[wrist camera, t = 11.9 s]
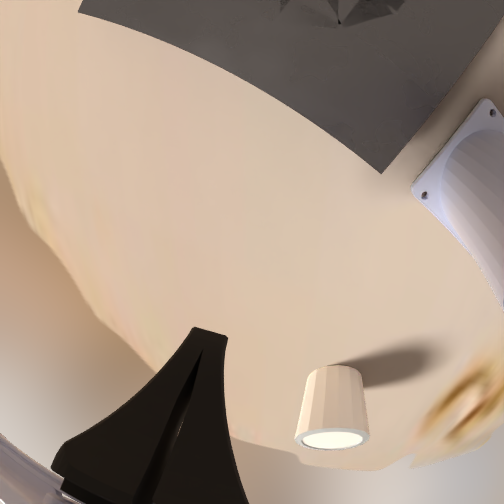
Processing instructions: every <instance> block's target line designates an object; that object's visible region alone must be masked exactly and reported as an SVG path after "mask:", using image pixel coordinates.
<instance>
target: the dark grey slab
mask: <svg viewBox="0 0 504 504" xmlns="http://www.w3.org/2000/svg"><path fill="white" fill-rule="evenodd" d="M78 13H82V14H86V15H90V16H93V17H97V18H100V19H103V20H107V21H110V22H113V23H116V24H119V25H122V26H125V27H128V28H131V29H134V30H136V31H139V32H142V33H144V34H147V35H150V36H152V37H155V38H157V39H160V40H162V41H165V42H167V43H169V44H172V45H174V46H176V47H179V48H181V49H183V50H185V51H188V52H190V53H192V54H194V55H196V56H198V57H200V58H203V59H205V60H207V61H209V62H211V63H213V64H215V65H217V66H219V67H221V68H223V69H225V70H226V71H228V72H230V73H232V74H234V75H236V76H238V77H240V78H241V79H243V80H245V81H247V82H249V83H250V84H252V85H254V86H256V87H257V88H259V89H261V90H262V91H264V92H266V93H268V94H269V95H271V96H273V97H274V98H276V99H277V100H279V101H281V102H282V103H284V104H285V105H287V106H289V107H290V108H292V109H293V110H295V111H296V112H298V113H299V114H301V115H302V116H304V117H305V118H307V119H308V120H310V121H311V122H313V123H314V124H316V125H317V126H319V127H320V128H322V129H323V130H324V131H326V132H327V133H329V134H330V135H331V136H333V137H334V138H336V139H337V140H338V141H340V142H341V143H342V144H344V145H345V146H346V147H348V148H349V149H350V150H352V151H353V152H354V153H355V154H357V155H358V156H359V157H361V158H362V159H363V160H364V161H366V162H367V163H368V164H369V165H371V166H372V167H373V168H374V169H375V170H377V171H378V172H379V173H380V174H382V173H383V172H384V170H385V169H386V168H387V167H388V166H389V165H390V163H391V162H392V161H393V160H394V159H395V157H396V156H397V155H398V154H399V153H400V151H401V150H402V149H403V148H404V147H405V145H406V144H407V143H408V142H409V141H410V139H411V138H412V137H413V136H414V134H415V133H416V132H417V131H418V130H419V128H420V127H421V126H422V125H423V123H424V122H425V121H426V120H427V118H428V117H429V116H430V115H431V113H432V112H433V111H434V110H435V108H436V107H437V106H438V104H439V103H440V102H441V101H442V99H443V98H444V97H445V95H446V94H447V93H448V92H449V90H450V89H451V88H452V86H453V85H454V84H455V82H456V81H457V80H458V78H459V77H460V76H461V74H462V73H463V72H464V70H465V69H466V68H467V66H468V65H469V64H470V62H471V61H472V60H473V58H474V57H475V55H476V54H477V53H478V51H479V50H480V49H481V47H482V46H483V44H484V43H485V41H486V40H487V39H488V37H489V36H490V34H491V33H492V31H493V30H494V29H495V27H496V26H497V24H498V23H499V21H500V20H501V18H502V17H503V15H504V0H83V1H82V3H81V5H80V8H79V10H78Z"/></svg>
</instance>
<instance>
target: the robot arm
mask: <svg viewBox="0 0 504 504" xmlns="http://www.w3.org/2000/svg"><path fill="white" fill-rule="evenodd" d="M491 109H492V111H493V114H492V116H490V110H491ZM411 192H412V194H413V195H414V196H415V197H416V198H417V199H418V200H419V201H420V202H421V203H422V204H423V205H424V206H425V207H426V208H427V209H428V210H429V211H430V212H431V213H432V214H433V215H434V216H435V217H436V218H437V219H438V220H439V221H440V222H441V223H442V224H443V225H444V226H445V227H446V228H447V229H448V230H449V231H450V232H451V233H452V234H453V235H454V237H455V238H456V239H457V240H458V241H459V242H460V243H461V244H462V245H463V246H464V248H465V249H466V250H467V251H468V252H469V253H470V254H471V256H472V257H473V258H474V260H475V261H476V263H477V265H478V266H479V268H480V270H481V271H482V273H483V275H484V277H485V278H486V280H487V282H488V284H489V285H490V287H491V289H492V291H493V293H494V295H495V296H496V298H497V300H498V302H499V304H500V306H501V308H502V310H503V312H504V117H503V116H502V114H501V113H500V112H499V110H498V109H497V108H496V106H495V105H494V104H493V102H492V101H491V100H490V99H487V98H482V99H481V100H480V101H479V102H478V104H477V105H476V106H475V108H474V109H473V110H472V112H471V113H470V114H469V116H468V117H467V118H466V119H465V121H464V122H463V123H462V125H461V126H460V127H459V128H458V130H457V131H456V132H455V133H454V135H453V136H452V137H451V138H450V140H449V141H448V142H447V143H446V145H445V146H444V147H443V148H442V149H441V151H440V152H439V153H438V154H437V155H436V157H435V158H434V159H433V160H432V161H431V162H430V164H429V165H428V166H427V167H426V168H425V170H424V171H423V172H422V173H421V174H420V175H419V176H418V178H417V179H416V180H415V181H414V182H413V183H412V185H411ZM423 192H427V194H426V196H425V197H421V195H422V193H423ZM227 341H228V338H227V336H225V335H222V334H218V333H215V332H211V331H207V330H204V329H201V328H197V327H194V328H192V329H191V331H190V333H189V334H188V336H187V337H186V339H185V340H184V342H183V343H182V344H181V346H180V347H179V348H178V350H177V351H176V352H175V353H174V355H173V356H172V357H171V358H170V359H169V360H168V362H167V363H166V364H165V365H164V366H163V367H162V369H161V370H160V371H159V372H158V373H157V374H156V375H155V376H154V377H153V378H152V379H151V380H150V381H149V382H148V383H147V384H146V385H145V386H144V387H143V388H142V389H141V390H140V391H139V392H138V393H137V394H135V396H133V397H132V398H131V399H130V400H128V401H127V402H126V403H125V404H124V405H122V406H121V407H120V408H119V409H117V410H116V411H115V412H113V413H112V414H111V415H109V416H108V417H106V418H105V419H103V420H102V421H100V422H99V423H97V424H96V425H94V426H93V427H91V428H90V429H88V430H86V431H84V432H83V433H81V434H79V435H77V436H75V437H74V438H71V439H70V440H68V441H66V442H65V443H64V444H63V445H62V446H61V448H60V449H59V451H58V452H57V454H56V456H55V458H54V460H53V463H52V465H51V469H52V470H53V471H54V472H56V473H57V474H59V475H60V476H62V477H64V479H63V478H61V477H60V476H58V475H56V474H55V473H53V472H51V471H50V470H48V469H47V468H45V467H44V466H42V465H41V464H39V463H38V462H36V461H35V460H33V459H32V458H30V457H29V456H28V455H26V454H25V453H23V452H22V451H21V450H19V449H18V448H17V447H15V446H14V445H13V444H11V443H10V442H9V441H8V440H7V439H6V437H4V436H3V435H2V434H1V433H0V500H1V502H3V504H80V503H81V504H249V502H248V500H247V498H246V495H245V492H244V489H243V486H242V483H241V480H240V477H239V473H238V470H237V466H236V462H235V458H234V454H233V450H232V446H231V441H230V436H229V430H228V424H227V417H226V408H225V397H224V358H225V350H226V346H227ZM182 422H183V423H182ZM181 424H182V425H181ZM180 427H181V428H180ZM179 430H180V431H179ZM178 432H179V433H178ZM177 435H178V436H177ZM62 493H63V494H65V495H66V496H68V497H70V498H72V499H74V500H75V501H77V502H75V501H73V500H71V499H68V498H66V497H63V496H62ZM78 502H79V503H78Z"/></svg>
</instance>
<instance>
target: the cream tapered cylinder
mask: <svg viewBox="0 0 504 504" xmlns="http://www.w3.org/2000/svg"><path fill="white" fill-rule="evenodd" d="M369 436H370V435H369V426H368V418H367V410H366V403H365V396H364V389H363V383H362V376H361V374H360V373H359V371H358V370H357V369H354V368H352V367H350V366H343V365H332V366H325V367H322V368H319V369H316V370H315V371H313V372H312V373H310V375H309V377H308V378H307V383H306V388H305V393H304V398H303V403H302V408H301V412H300V417H299V422H298V426H297V431H296V435H295V441H296V443H297V444H299V445H301V446H303V447H305V448H309V449H314V450H325V451H332V450H344V449H349V448H354V447H357V446H359V445H362V444H364V443H365V442H367V441H368V440H369Z"/></svg>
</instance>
